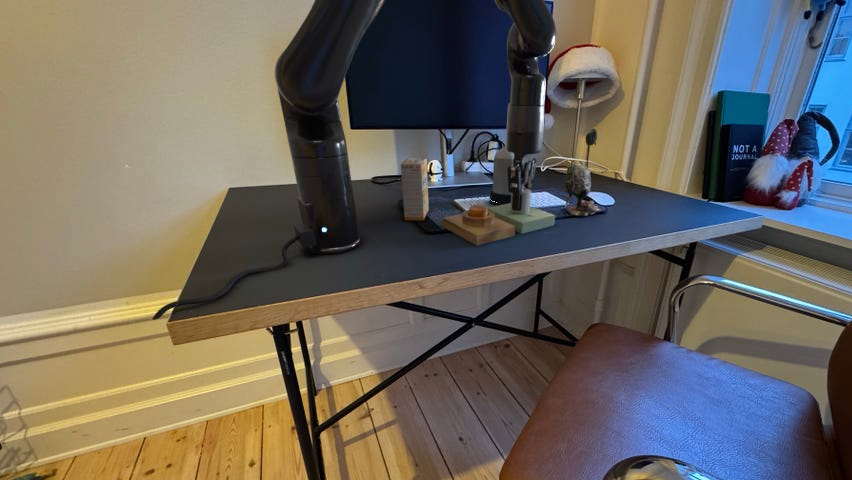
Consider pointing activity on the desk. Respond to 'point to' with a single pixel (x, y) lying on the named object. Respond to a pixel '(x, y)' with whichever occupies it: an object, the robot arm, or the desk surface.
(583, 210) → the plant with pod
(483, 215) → the light button
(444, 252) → the desk surface
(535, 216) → the green base plate
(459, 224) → the lamp base
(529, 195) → the dimmer knob
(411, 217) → the supplement box
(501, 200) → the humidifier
